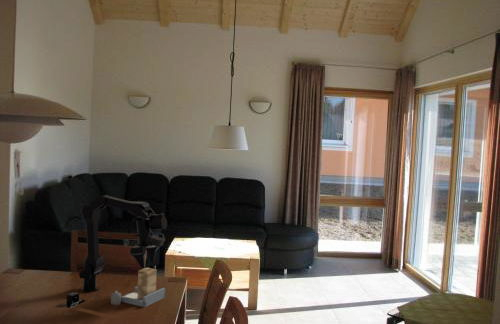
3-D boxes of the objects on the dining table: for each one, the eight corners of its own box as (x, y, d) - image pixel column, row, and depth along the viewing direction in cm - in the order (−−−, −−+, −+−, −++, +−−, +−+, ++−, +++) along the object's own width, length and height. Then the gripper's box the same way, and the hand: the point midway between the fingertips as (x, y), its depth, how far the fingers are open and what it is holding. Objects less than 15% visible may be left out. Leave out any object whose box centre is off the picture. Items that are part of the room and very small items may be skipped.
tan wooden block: (137, 301, 193) (138, 270, 193) (146, 296, 199) (147, 267, 198) (147, 303, 191) (147, 272, 191) (155, 298, 197) (156, 269, 196)
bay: (106, 305, 190) (107, 291, 189) (135, 293, 206) (136, 279, 206) (137, 313, 183) (137, 298, 183) (164, 299, 200) (165, 285, 199)
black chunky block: (68, 310, 184) (68, 299, 184) (54, 307, 187) (54, 296, 187) (89, 301, 196) (90, 290, 196) (76, 298, 198) (76, 288, 198)
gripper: (151, 233, 190) (155, 270, 190) (169, 225, 208) (173, 259, 208) (127, 235, 193) (131, 271, 193) (147, 227, 211) (151, 260, 211)
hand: (148, 265), depth 201 cm, fingers open, 9 cm apart
